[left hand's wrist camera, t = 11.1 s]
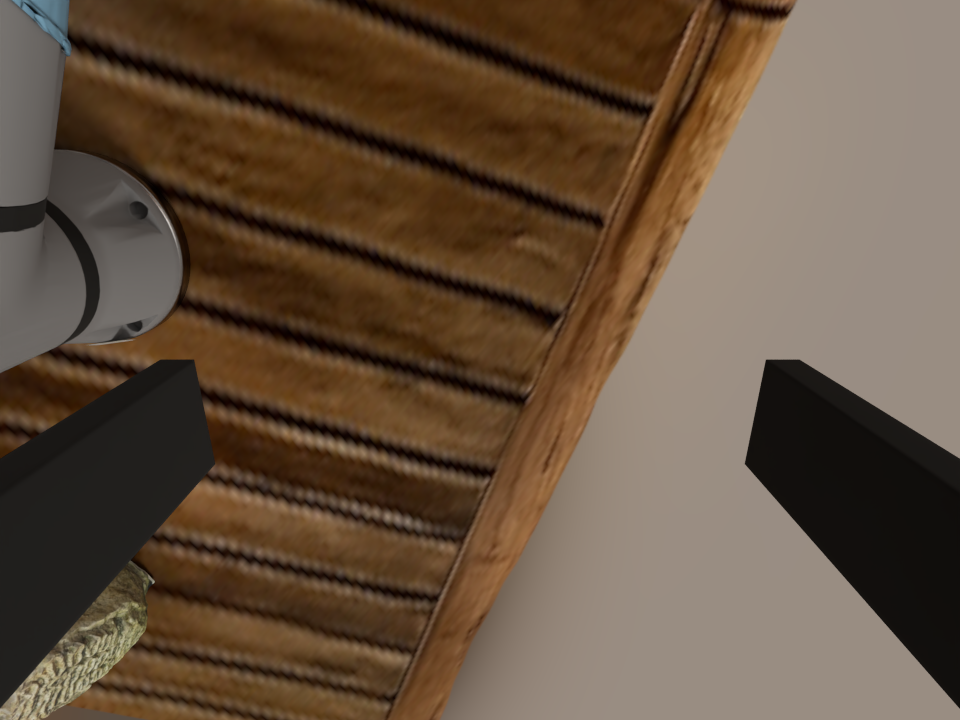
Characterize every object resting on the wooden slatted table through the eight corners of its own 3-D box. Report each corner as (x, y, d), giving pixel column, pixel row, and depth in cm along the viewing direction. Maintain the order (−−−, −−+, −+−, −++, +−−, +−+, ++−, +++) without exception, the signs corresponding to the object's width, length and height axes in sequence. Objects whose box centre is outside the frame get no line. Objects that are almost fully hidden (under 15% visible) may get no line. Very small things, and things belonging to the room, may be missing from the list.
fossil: (163, 616, 58) (61, 762, 44) (-14, 560, 55) (-182, 696, 41) (182, 557, 55) (80, 692, 41) (-3, 494, 52) (-181, 617, 38)
